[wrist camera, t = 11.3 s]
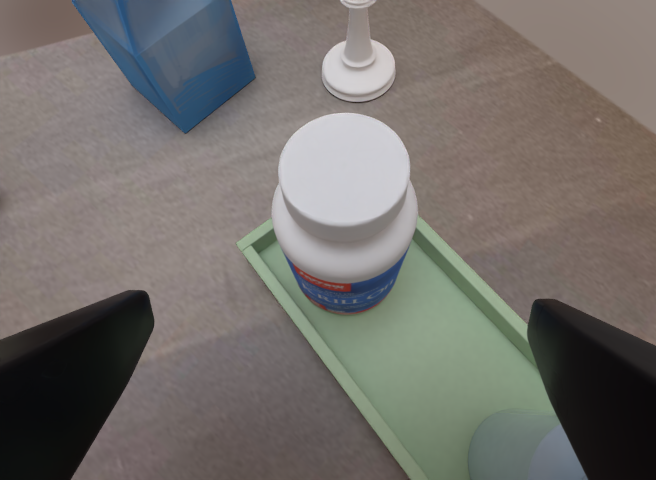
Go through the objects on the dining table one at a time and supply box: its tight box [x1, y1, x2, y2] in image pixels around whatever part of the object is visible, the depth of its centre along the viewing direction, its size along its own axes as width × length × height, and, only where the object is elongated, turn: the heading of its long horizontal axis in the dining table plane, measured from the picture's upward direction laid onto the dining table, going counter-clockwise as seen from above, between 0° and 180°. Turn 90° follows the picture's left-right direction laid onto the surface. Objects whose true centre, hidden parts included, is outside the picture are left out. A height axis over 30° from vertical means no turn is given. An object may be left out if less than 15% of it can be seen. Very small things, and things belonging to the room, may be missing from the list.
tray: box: [236, 215, 554, 480], centre depth 16 cm, size 32×8×2 cm, turn 38°
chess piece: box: [322, 0, 395, 102], centre depth 22 cm, size 5×5×10 cm
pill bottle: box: [272, 113, 418, 315], centre depth 16 cm, size 6×5×10 cm
